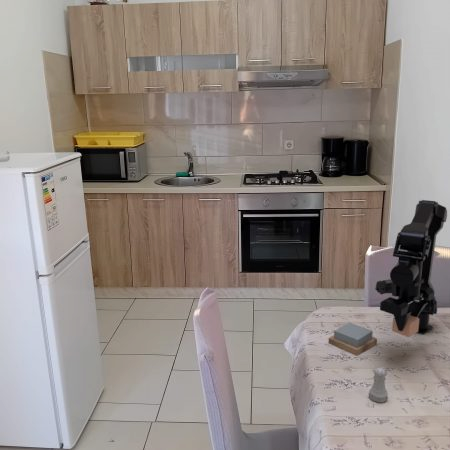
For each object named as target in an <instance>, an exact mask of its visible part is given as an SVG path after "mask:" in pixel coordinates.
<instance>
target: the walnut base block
mask: <svg viewBox="0 0 450 450" xmlns="http://www.w3.org/2000/svg"><path fill="white" fill-rule="evenodd" d="M377 343H378V338H375V337H373V336H372V339H371V340H369V341H367V342H366V343H364V344H363V345H361V346H360V347H358V348H356V347H354V346H351V345H349V344H346V343H344V342H342V341H339V340H337V339H334V334H333V335H332V336H329V337H328V344H330V345H332V346H334V347H336V348H337V349H340V350H342V351H345V352H347V353H349V354H351V355H354V356H356V357H357V356H359V355H362V354H363V353H364V352H366V351H368V350H370V349H371V348H373V347H374V346H376V345H378V344H377Z"/></svg>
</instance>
